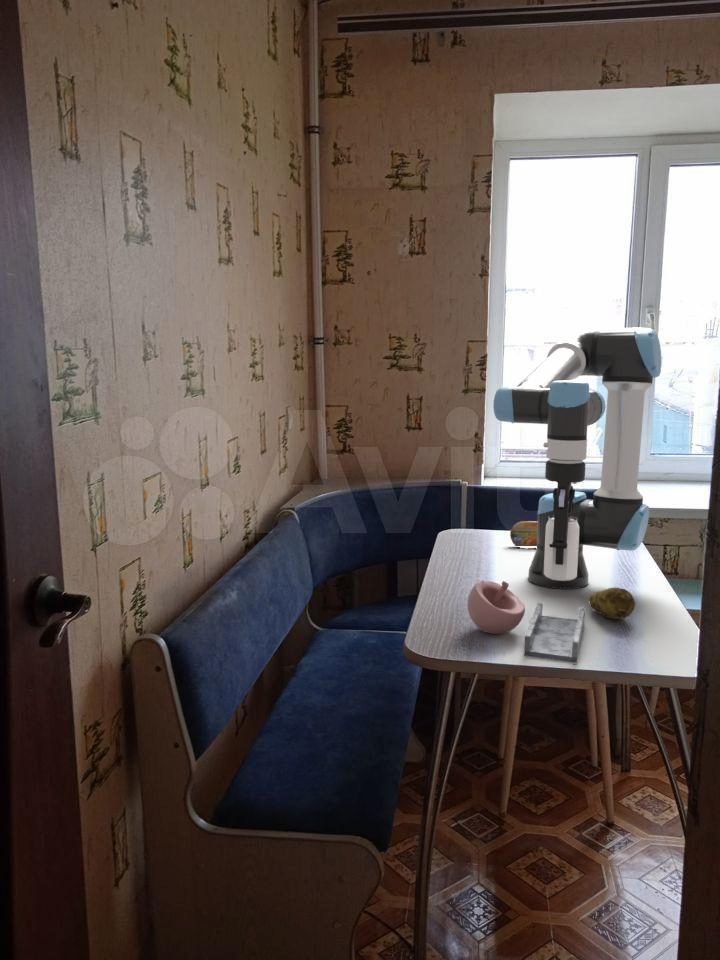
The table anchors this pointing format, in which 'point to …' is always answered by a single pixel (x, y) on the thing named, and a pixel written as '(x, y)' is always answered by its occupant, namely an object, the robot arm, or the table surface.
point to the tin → (524, 533)
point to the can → (571, 551)
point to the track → (554, 636)
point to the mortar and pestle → (494, 607)
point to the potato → (613, 603)
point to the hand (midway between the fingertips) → (560, 574)
